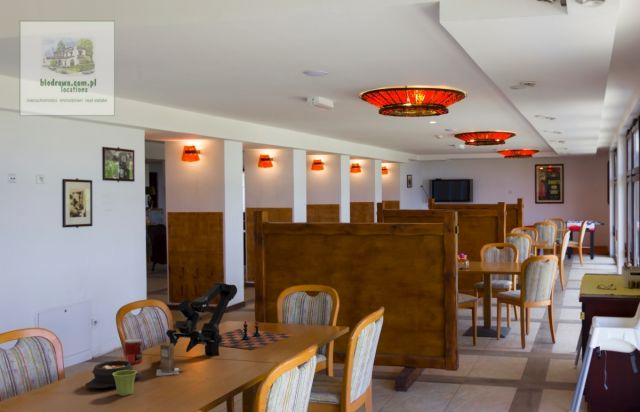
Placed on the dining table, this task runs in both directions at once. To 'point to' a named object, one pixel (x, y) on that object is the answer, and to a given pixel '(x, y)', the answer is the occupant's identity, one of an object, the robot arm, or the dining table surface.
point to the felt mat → (167, 373)
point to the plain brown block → (167, 357)
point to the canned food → (133, 350)
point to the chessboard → (249, 338)
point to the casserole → (108, 373)
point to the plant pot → (124, 381)
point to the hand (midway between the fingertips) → (178, 351)
